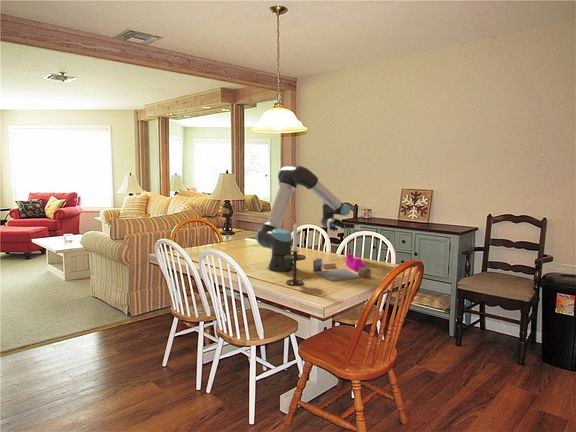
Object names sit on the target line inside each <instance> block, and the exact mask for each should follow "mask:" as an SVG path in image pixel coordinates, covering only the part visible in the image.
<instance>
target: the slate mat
mask: <svg viewBox="0 0 576 432" xmlns="http://www.w3.org/2000/svg"><path fill="white" fill-rule="evenodd" d="M316 274H317V275H319V276H321V277H322V278H325V279H326V280H328V281H330V282H336V281H347V280H356V279H362V278H361V276H359V275H358V274H357V273H354V272H351V271H350V270H348V269H345V268H342V269H341V268H340V269H331V270H322V271H318V272H316Z"/></svg>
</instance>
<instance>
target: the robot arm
mask: <svg viewBox="0 0 576 432" xmlns="http://www.w3.org/2000/svg"><path fill="white" fill-rule="evenodd" d="M277 178H278V186H279V188H278V191H277V193H276V196H275V198H274V201H273V205H272V208H271V210H270V213H269V215H268V219H267V221H266V222H264V223H263V225H262V227H261V228H260V229H258V230H257V231H256V234H255V239H256V242H257V244H258V245H259V246H261V247H263V248H265V249H270V250H271V257H270V260H269V264H268V270H269V271H274V272H279V273H280V272H282V273H283V272H290V271H293V270H292V269H293V268H294V261H292V260H287V259H285V255H289V254H292V252H291V251H292V243H293V241H292V240H293V237H292V236H293V235H292V232H291V231H290V230H289V229H286V228H281V224H282V221H283V220H284V216H285V213H286V211H287V208H288V204H289V203H290V200H291V197H292V193H293V192H294V191H295V190H296V189H297V186H303V187H305V188H306V190H310V191H312V193H313V194H315V195H316V196H317V197H318V198H320V199H321V201H322V216H321V218H320V224H321V226H322V227H324V228H328V229H329V230H330V231H332V232H336V231H337V232H339V233H341V232H342V229H354V230H357V231H362V230H361V228H362V227H361V225H359V224H358V223H351V222H342V220H340V219H339V218H334V217H335V215H337V216H341V217H342V216H345V217H346V216H348V215H349V214H350V213H351V206H350V205H349V204H347V203H343V202H342V201H341V200H340V199H339V198H338V197H337V196H336V195H335V194H334V193H333V192H331V191H330V189H328V188H327V187H326V186H325V185H324V184H323V183H322V182H321V181H320V180H319V177H317V175H315V173H313V172H312V171H311V170H310V169H309V168H307V167H305V166H302V165H286V166H282V167H281V168H280V170H279V171H278V174H277Z"/></svg>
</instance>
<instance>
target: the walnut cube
mask: <svg viewBox="0 0 576 432" xmlns="http://www.w3.org/2000/svg"><path fill="white" fill-rule="evenodd" d="M357 275H359V276H361V278H360V279H371V277H372V269H371V268H370V267H368V266H365V267H361V268H358V271H357Z"/></svg>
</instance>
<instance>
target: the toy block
mask: <svg viewBox="0 0 576 432" xmlns="http://www.w3.org/2000/svg"><path fill="white" fill-rule="evenodd" d="M354 256H355V255H354V254H353V253H346V256H345V257H346V260H345V261H346V264H345V265H346V267H348V268H349V269H351V270H352V271H354V272H357V273H358V268H361V267H366V263H365V262H363V261H362V258H360V257H359V258H358V257H357V258H356V257H354Z"/></svg>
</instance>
